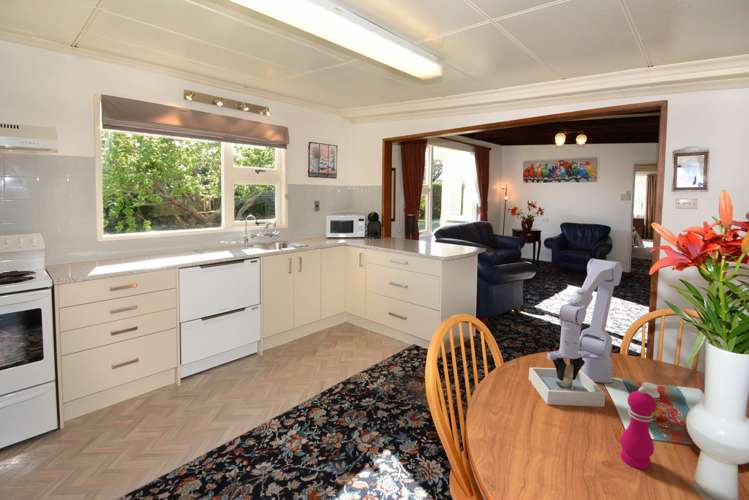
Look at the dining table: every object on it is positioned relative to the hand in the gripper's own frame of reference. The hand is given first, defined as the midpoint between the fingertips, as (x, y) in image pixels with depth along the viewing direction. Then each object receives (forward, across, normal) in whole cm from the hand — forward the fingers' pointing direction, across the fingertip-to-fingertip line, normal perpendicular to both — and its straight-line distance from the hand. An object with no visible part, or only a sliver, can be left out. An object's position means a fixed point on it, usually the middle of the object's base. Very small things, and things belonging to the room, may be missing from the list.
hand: (566, 378), depth 137 cm
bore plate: (+5, 0, 0) cm, 5 cm away
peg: (+2, 0, 0) cm, 2 cm away
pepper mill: (+6, +4, +35) cm, 36 cm away
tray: (+5, 0, -1) cm, 5 cm away
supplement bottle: (+5, -16, +16) cm, 24 cm away
